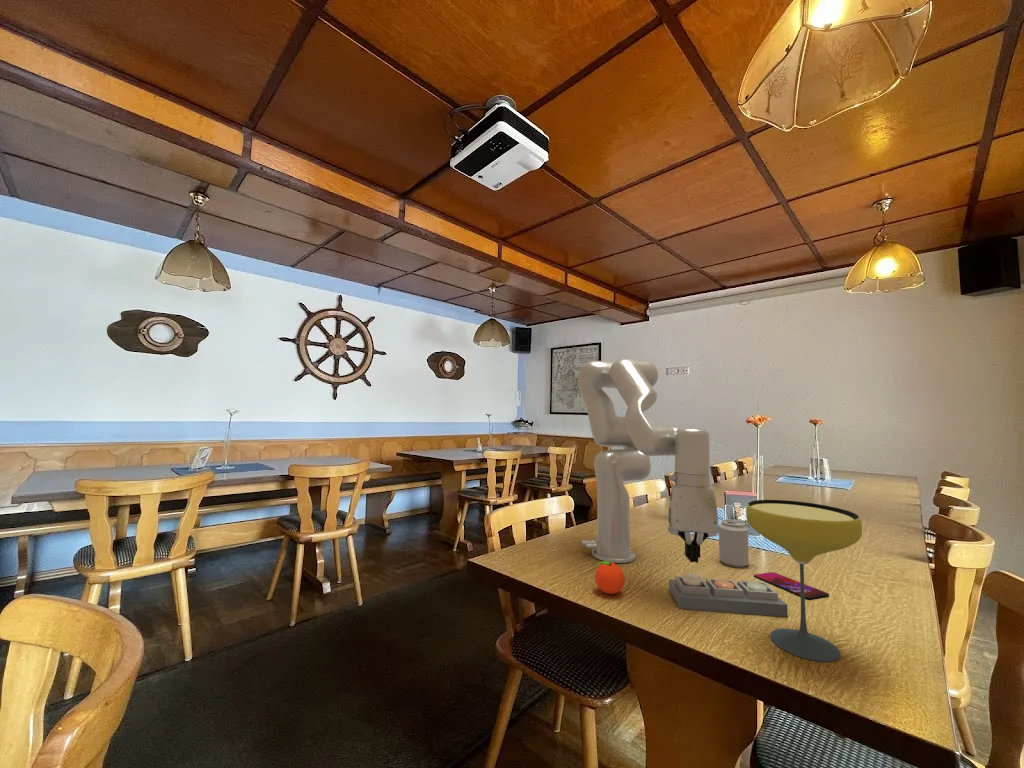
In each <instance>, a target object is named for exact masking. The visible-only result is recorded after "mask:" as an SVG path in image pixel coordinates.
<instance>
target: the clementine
mask: <svg viewBox="0 0 1024 768" xmlns="http://www.w3.org/2000/svg"><path fill="white" fill-rule="evenodd" d="M598 564H599V566H598V567H597V568H596V570H595V573H594V580H595V583H596V585H597V586H596V587H597V588H599V589H600V591H602V592H603V593H605V594H607V595H614V594H617V593H619V592H620V591H621V590H622V589H623V588H624V586H625V574H624V571H623V570H622V569H621V567H620V566H619V565H617V563H612V562H606V561H599V562H598ZM596 565H597V563H595V564H594V565H593V569H595V566H596Z"/></svg>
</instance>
